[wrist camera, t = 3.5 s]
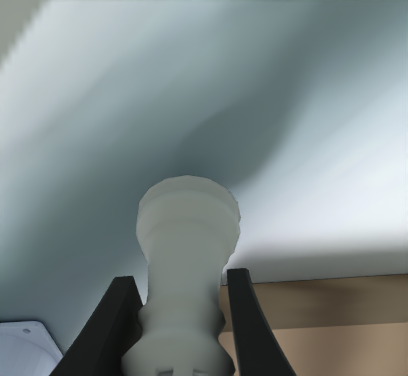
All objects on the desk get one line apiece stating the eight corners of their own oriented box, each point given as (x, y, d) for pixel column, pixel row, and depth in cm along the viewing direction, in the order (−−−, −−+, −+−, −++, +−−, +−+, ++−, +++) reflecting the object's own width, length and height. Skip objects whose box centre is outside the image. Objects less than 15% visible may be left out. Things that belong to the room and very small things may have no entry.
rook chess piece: (156, 153, 14) (110, 346, 7) (257, 188, 15) (294, 385, 8) (127, 230, 16) (74, 424, 10) (215, 256, 17) (219, 448, 11)
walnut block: (223, 385, 28) (224, 428, 25) (207, 286, 21) (207, 333, 18) (380, 378, 27) (397, 422, 24) (417, 273, 20) (446, 320, 18)
